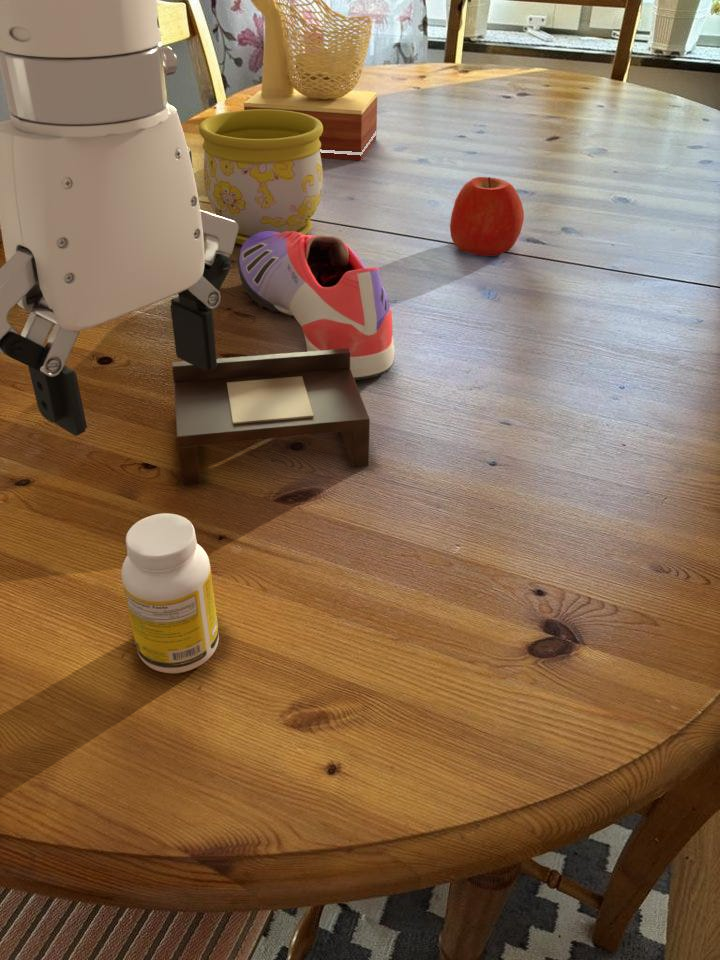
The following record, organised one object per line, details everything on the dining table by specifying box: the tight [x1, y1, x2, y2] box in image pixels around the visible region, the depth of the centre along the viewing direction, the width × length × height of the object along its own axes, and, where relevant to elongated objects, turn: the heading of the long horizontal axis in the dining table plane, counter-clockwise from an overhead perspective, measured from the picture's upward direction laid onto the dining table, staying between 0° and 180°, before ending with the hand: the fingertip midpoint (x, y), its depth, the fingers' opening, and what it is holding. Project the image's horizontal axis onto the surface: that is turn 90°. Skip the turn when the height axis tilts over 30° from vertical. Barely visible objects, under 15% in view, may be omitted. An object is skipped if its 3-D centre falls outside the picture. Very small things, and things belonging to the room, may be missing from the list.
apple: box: [449, 176, 525, 257], centre depth 128 cm, size 11×11×11 cm
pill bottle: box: [120, 513, 220, 674], centre depth 62 cm, size 6×6×11 cm
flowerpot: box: [198, 109, 324, 246], centre depth 130 cm, size 18×18×16 cm
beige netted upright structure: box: [243, 0, 378, 162], centre depth 166 cm, size 25×18×35 cm
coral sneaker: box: [237, 231, 396, 381], centre depth 106 cm, size 12×36×13 cm, turn 24°
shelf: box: [171, 348, 371, 486], centre depth 85 cm, size 18×11×7 cm, turn 101°
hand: (135, 392), depth 52 cm, fingers open, 9 cm apart
